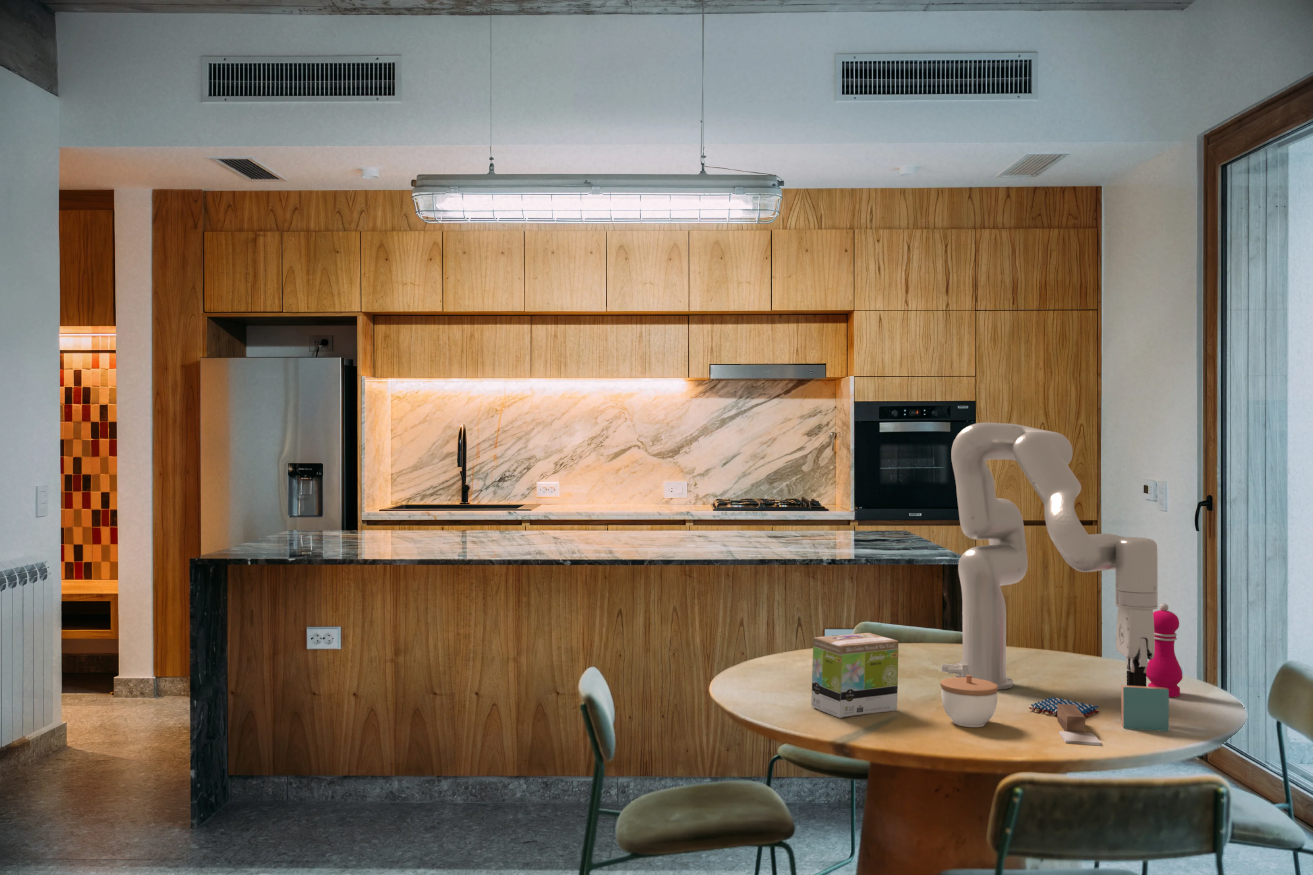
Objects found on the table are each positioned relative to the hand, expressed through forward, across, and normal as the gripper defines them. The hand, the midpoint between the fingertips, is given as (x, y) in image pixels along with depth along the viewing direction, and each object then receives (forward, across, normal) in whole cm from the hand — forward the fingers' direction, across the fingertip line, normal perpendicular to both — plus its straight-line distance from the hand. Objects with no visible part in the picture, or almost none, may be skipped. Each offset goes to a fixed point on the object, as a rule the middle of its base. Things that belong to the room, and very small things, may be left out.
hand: (1136, 691), depth 190 cm
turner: (+6, +12, -14) cm, 19 cm away
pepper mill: (+6, -24, +12) cm, 28 cm away
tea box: (+6, +5, -55) cm, 56 cm away
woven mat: (+6, -3, -13) cm, 15 cm away
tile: (+6, +6, 0) cm, 8 cm away
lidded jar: (+6, +10, -33) cm, 35 cm away
